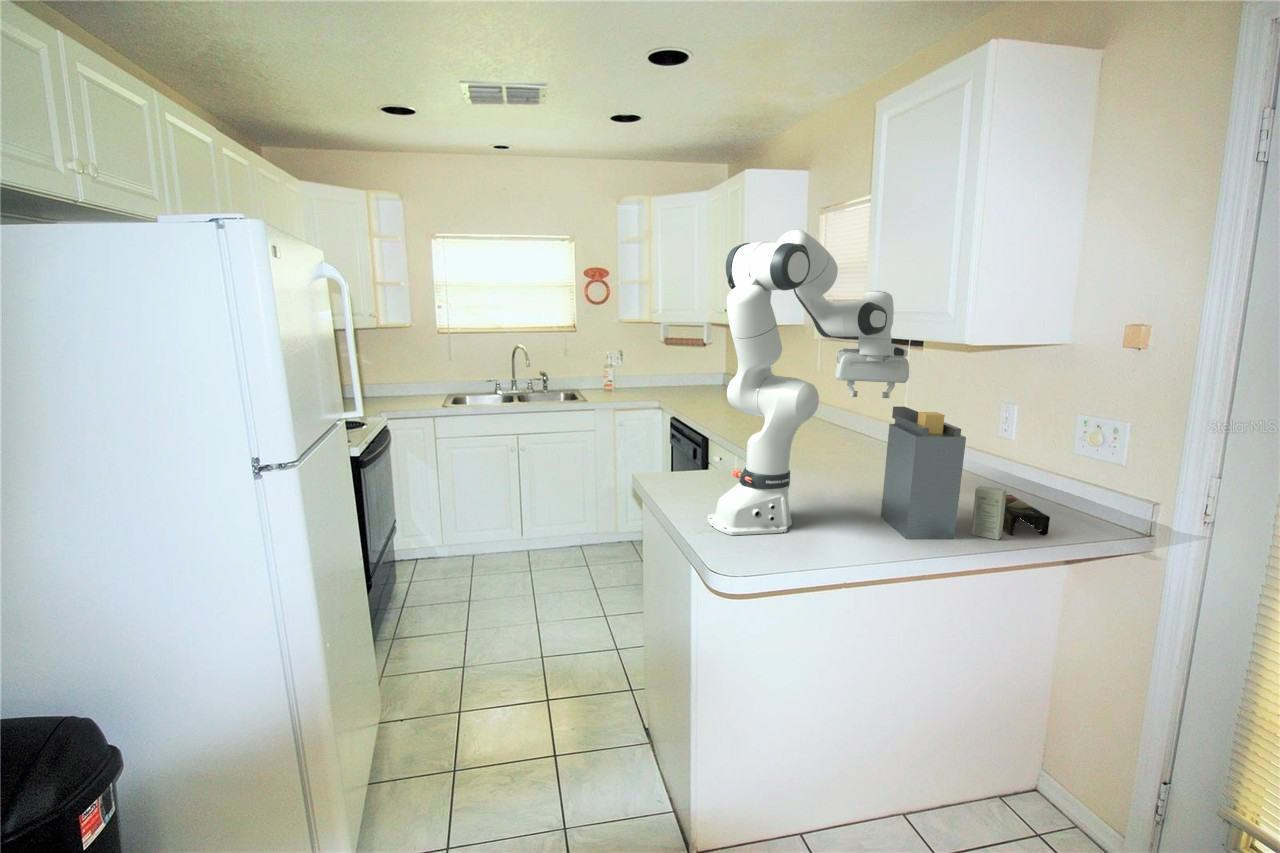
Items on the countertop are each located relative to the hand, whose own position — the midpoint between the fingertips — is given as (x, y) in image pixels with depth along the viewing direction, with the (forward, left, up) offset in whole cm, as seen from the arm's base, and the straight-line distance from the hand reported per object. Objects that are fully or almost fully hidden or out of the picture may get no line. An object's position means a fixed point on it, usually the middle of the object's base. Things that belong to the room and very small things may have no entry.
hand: (869, 397), depth 177 cm
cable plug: (-1, -18, -5) cm, 19 cm away
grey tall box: (-3, -25, -31) cm, 39 cm away
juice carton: (+24, -30, -31) cm, 49 cm away
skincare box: (+10, -35, -31) cm, 47 cm away
